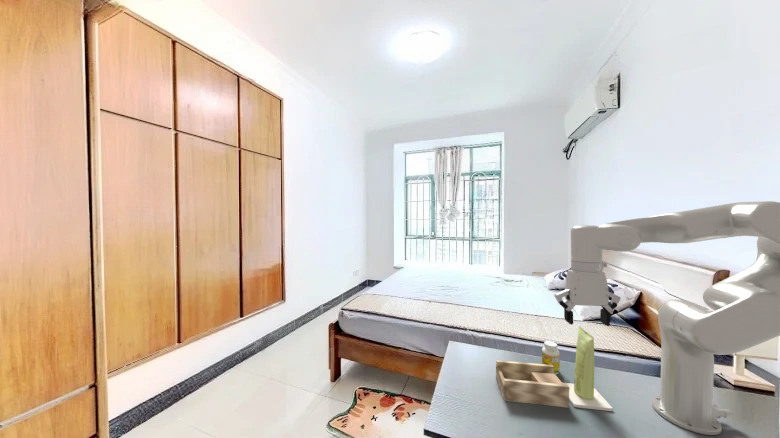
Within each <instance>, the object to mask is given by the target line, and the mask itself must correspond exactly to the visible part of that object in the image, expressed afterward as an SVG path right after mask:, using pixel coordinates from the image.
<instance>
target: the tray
mask: <svg viewBox="0 0 780 438" xmlns="http://www.w3.org/2000/svg"><path fill="white" fill-rule="evenodd" d="M531 372H534V373H554V367H553V365H546V364H542V363H533V362H521V361H511V360H510V361H509V360H497V359H496V360H495V378H496V382H497V384H498V387H499V390H500V392H501V396H502V397H503V400H504V401H506V402H515V403H525V404H532V405H533V404H534V405H542V406H549V407H550V406H551V407H559V408H560V407H561V408H570V401H569V386H568V385H564V384H554V383H544V382H534V381H532V380H531Z"/></svg>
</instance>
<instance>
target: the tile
mask: <svg viewBox="0 0 780 438" xmlns="http://www.w3.org/2000/svg"><path fill="white" fill-rule="evenodd" d="M562 383H563V384H564V385H568V386H569V403H570V404H571V405H572V406H573V408H580V409H590V410H599V411H607V412H614V407H612V405H610V404H609V402H608V401H607V400H606V399H605V398H604V397H603V396H602V395H601V393H600V392H599V391H598V390H597V389H596V388H595V387H594V398H592V399H586V398H583V397H581V396H579V395H577V394H576V393H575V392H574V383H569V382H562Z"/></svg>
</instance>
